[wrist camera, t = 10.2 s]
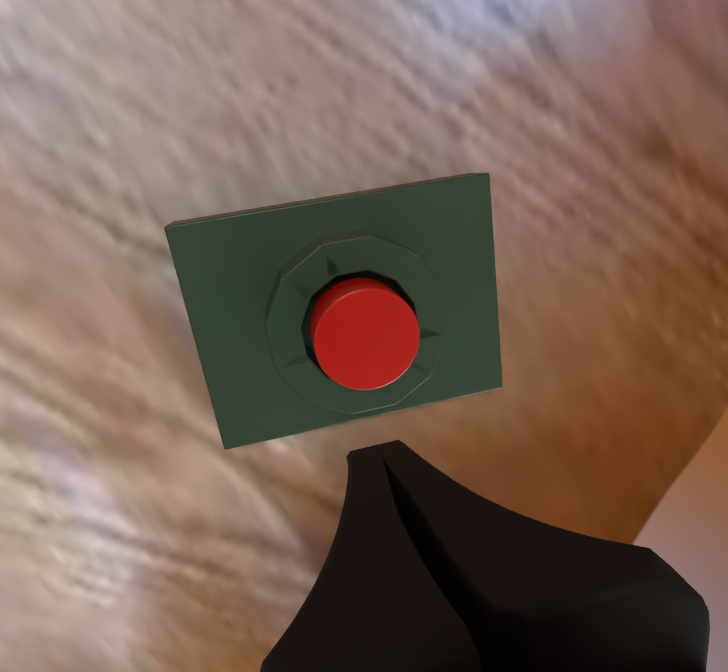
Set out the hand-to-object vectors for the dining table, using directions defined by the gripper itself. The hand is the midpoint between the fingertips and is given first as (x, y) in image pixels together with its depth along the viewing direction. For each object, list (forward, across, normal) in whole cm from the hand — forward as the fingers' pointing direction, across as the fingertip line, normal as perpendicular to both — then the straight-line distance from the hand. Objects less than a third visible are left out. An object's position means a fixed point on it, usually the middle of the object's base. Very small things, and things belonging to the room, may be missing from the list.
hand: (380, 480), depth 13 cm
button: (+7, -1, -2) cm, 7 cm away
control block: (+10, -1, -2) cm, 10 cm away
